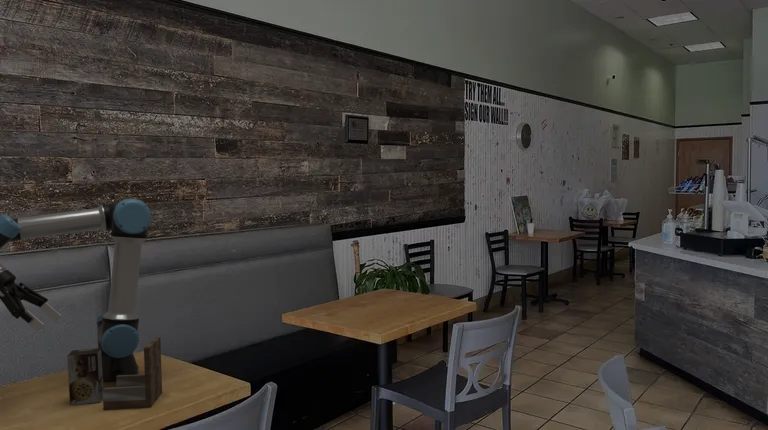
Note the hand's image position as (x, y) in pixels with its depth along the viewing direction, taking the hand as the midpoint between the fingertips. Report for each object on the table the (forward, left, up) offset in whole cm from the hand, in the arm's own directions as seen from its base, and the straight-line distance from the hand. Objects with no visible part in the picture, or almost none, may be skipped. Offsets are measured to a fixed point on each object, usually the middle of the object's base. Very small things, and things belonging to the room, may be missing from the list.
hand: (49, 323), depth 192 cm
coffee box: (-5, +9, -26) cm, 28 cm away
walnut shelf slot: (-9, +24, -26) cm, 36 cm away
